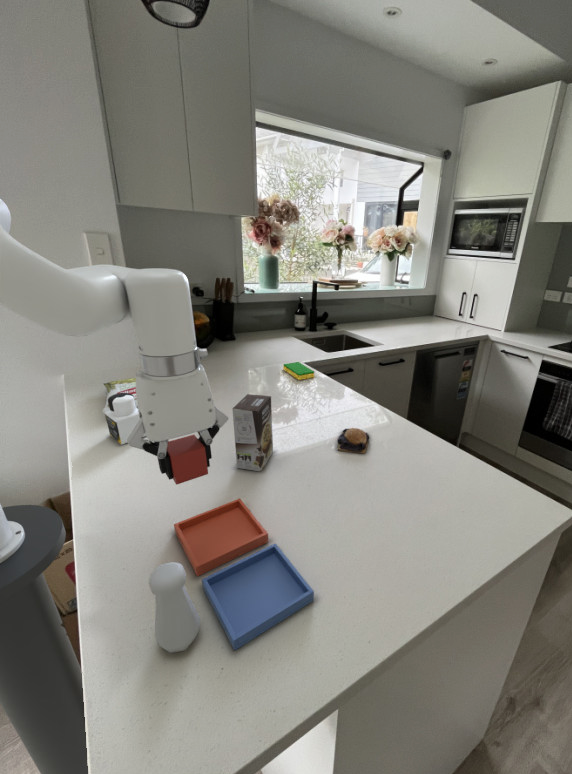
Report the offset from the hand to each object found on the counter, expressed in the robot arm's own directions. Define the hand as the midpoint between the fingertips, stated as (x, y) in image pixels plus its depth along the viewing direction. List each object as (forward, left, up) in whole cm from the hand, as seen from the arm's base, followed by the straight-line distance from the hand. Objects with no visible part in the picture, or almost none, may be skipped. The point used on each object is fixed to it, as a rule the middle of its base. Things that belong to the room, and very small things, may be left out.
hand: (187, 467), depth 61 cm
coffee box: (+21, +20, -18) cm, 34 cm away
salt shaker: (-8, -15, -18) cm, 24 cm away
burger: (+47, +13, -18) cm, 52 cm away
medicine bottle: (-2, +50, -18) cm, 53 cm away
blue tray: (+4, -15, -18) cm, 23 cm away
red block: (0, 0, -1) cm, 1 cm away
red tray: (+4, 0, -18) cm, 18 cm away
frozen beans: (+6, +74, -18) cm, 77 cm away
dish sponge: (+64, +68, -18) cm, 95 cm away
